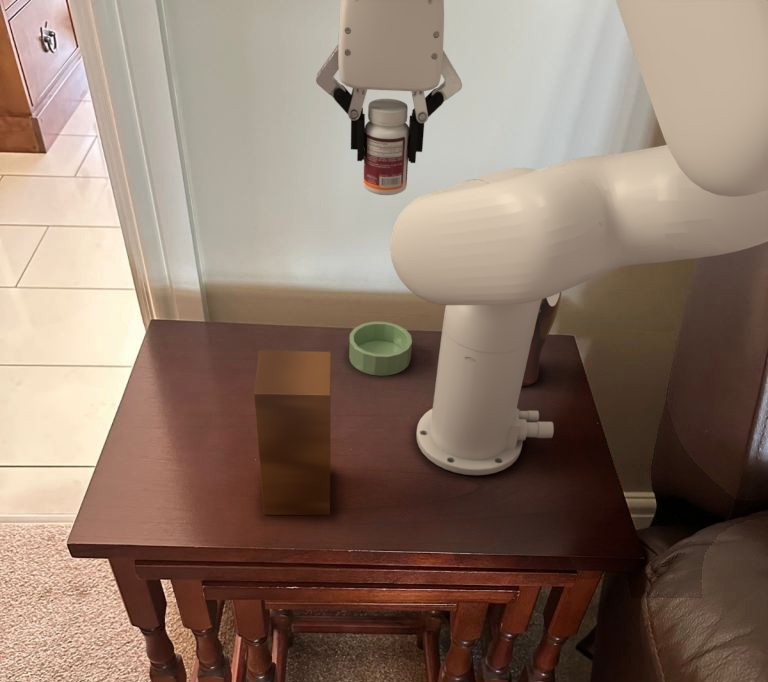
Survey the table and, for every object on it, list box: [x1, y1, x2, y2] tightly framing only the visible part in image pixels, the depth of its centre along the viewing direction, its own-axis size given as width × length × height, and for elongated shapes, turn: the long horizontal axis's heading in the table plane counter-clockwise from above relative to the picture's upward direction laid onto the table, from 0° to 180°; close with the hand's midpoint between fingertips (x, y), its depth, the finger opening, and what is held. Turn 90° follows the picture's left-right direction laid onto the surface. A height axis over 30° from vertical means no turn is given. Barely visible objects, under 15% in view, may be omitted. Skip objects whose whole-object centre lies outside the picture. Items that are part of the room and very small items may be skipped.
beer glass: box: [521, 292, 563, 387], centre depth 98 cm, size 7×7×15 cm
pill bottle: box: [363, 98, 410, 196], centre depth 82 cm, size 5×5×8 cm
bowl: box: [348, 321, 413, 377], centre depth 103 cm, size 8×8×3 cm
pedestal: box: [253, 350, 332, 516], centre depth 80 cm, size 7×7×16 cm
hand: (386, 155), depth 83 cm, fingers closed on pill bottle, 4 cm apart
